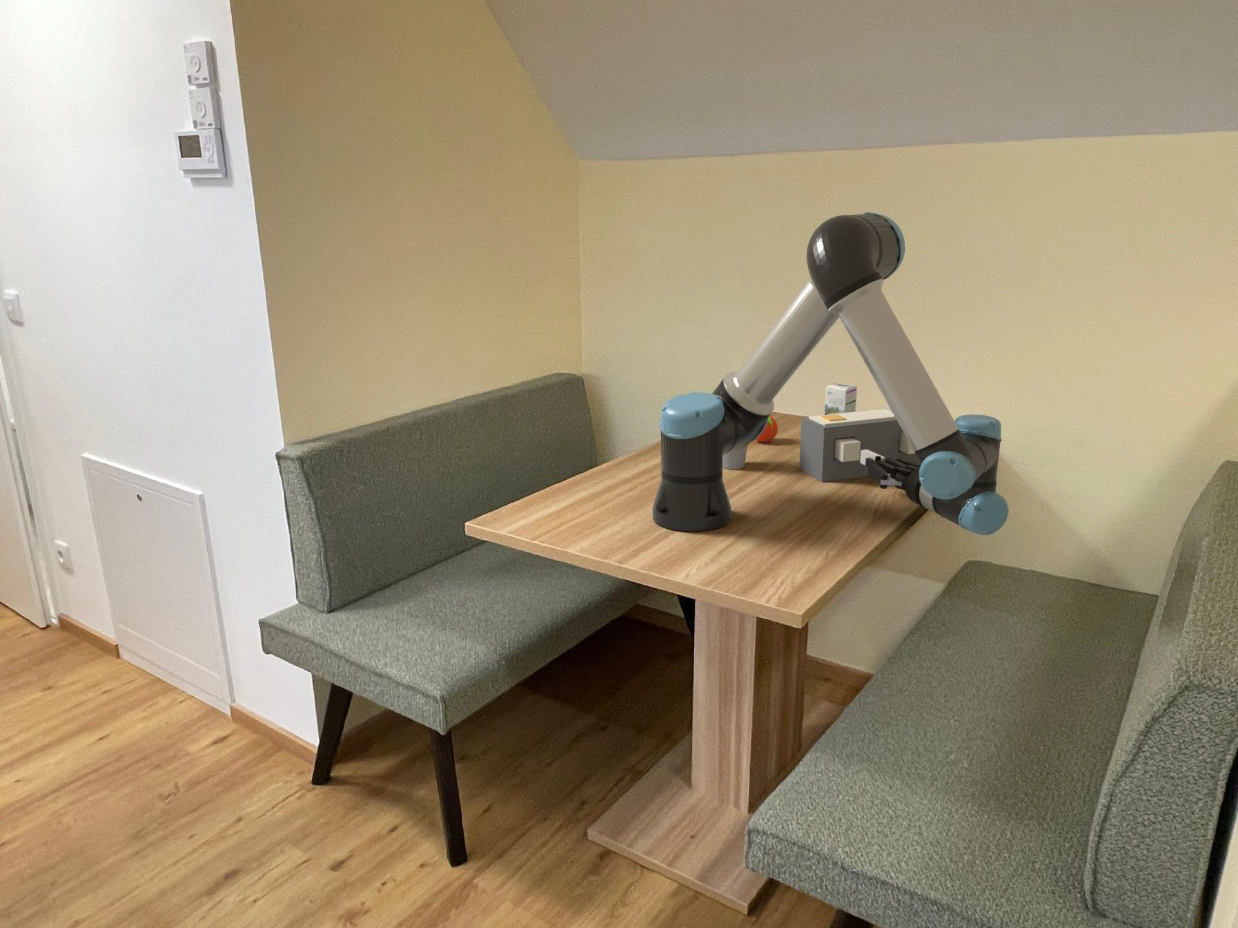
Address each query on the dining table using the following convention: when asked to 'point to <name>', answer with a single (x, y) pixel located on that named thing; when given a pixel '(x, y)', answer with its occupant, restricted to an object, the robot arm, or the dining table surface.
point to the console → (865, 426)
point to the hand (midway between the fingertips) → (863, 456)
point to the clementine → (768, 431)
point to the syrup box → (840, 398)
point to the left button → (846, 449)
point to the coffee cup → (735, 458)
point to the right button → (905, 444)
